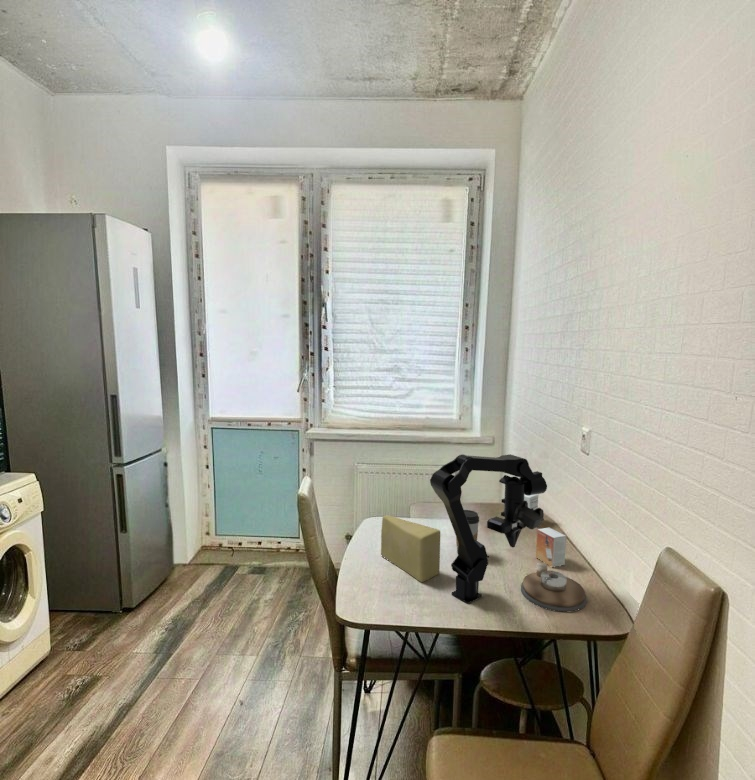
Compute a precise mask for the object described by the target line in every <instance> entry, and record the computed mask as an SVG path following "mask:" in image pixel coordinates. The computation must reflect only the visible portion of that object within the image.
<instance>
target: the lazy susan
mask: <svg viewBox="0 0 755 780" xmlns="http://www.w3.org/2000/svg"><path fill="white" fill-rule="evenodd" d="M543 571H548V565H547V564H546V563H544V562H542V561H539V562H537V563H536V571H535V572H532V573H529V574H526V575H525V576H524V577H523V580H522V582H523V589H524V591H525V592H526V593H527V594H528V595H529V596H530V597H532V598H533V599H535V600H537V601H539V602H541V603H544V604H547V605H551V606H556V607H574V606H578V605H580V604H581V603H583V601H584V599H585V595H586V590H585V589H584V587H583V586H582V585H581V584H580V583H579V582H577V581H576V580H574V579H573V578H571V577H568V576H566V578H567V580H566V590H565V591H564V592H551V591H548V590H546V589H544V588H543V587H542V586H541V573H542V572H543Z"/></svg>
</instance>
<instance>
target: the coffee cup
mask: <svg viewBox="0 0 755 780" xmlns="http://www.w3.org/2000/svg"><path fill="white" fill-rule="evenodd" d="M464 512H465V515H466V517H467V520H468V523H469V526H470V528H471V531H472V534H473V537H474V539H475V540H476V541H478V536H479V522H480V516H479V515H478V514H479V512H477V511H474V510H471V509H464ZM455 537H456V536H455ZM455 540H456V553H457V554H458V551H457V550H458V546H459V543H458V540H457V537H456V538H455Z"/></svg>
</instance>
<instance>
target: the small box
mask: <svg viewBox="0 0 755 780" xmlns="http://www.w3.org/2000/svg"><path fill="white" fill-rule="evenodd" d="M566 543H567V535H565V534H563V533H561V532H559V531H557V530H555V529H553V528H552V527H545V528H538V529H537V532H536V548H535V549H536V550H535V558H536V559H537V558H538V559H537V560H539V559H540V560H539V561H540V562H542V561H543V563H544V562H545V563H546V564H548V565H550V566H552V567H554V566H559V567H561V566H560V565H564V566H565V565H566V564H565V562H566V547H567V546H566V545H567V544H566ZM548 565H547V566H548ZM550 566H549V567H550ZM554 568H555V567H554Z"/></svg>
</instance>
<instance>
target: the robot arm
mask: <svg viewBox="0 0 755 780" xmlns="http://www.w3.org/2000/svg"><path fill="white" fill-rule="evenodd" d="M472 471H478V472H497V473H504V476H503V477H501V478H500V479H499V480H498V482H499V483H500V484H503V485H504V498H502V499H501V503H502V504H504V505H503V506H504V507H503V511H501V512H500V516H501V517H500V516H495V517H491V518H489V519H488V520H487V521H486V522H487V523H486V528H487V529H489V530H492V531H494V532H496V533H499V534H502V535H503V534H504V536H505V538H506V539H507V542H508V544H509V546H510V548H515V546H516V544H517V542H518V540H519V537H520V535H521V532H522V530H524V529H525V528H528V529H529V530H534V529H535V528H539V526H540V525H541V523H542V522H544V521H545V519H544V517H545V516H544V509H542V508H541V507H538V508H537V509H535V510H534V509H530V508H528V503H527V501H525V500H524V494H525V495H535V494H538V495H539V494H541V495H542V494H545V493H546V491H547V489H548V484H547V481H546V480H545V478H544V476H543V473H542V472H540V471H538V470H537V471H533V470H532V469H531V467H530V464H529V461H528V459H526V458H523V457H521V456H517V455H514V454H510V453H509V454H503V455H500V456H499V457H498V456H497V457H496V456H495V457H492V456H481V455H479V456H478V455H467V454H459V455H458V456H456V457H455V458H454V459H453V460H451V461H448V463H446V464H444V465H442V466H441V467H440V468H439V469H438V470H436V471H434V472H433V474H432V475H431V478H430V479H429V483H430V486H431V488H432V490H433V491H434V493H435V494H436V495H437V497H438V498H439V499H440V500H441V501H442V503H443V505H444V508H445V511H446V513H447V515H448V518H449V520H450V524H451V526H452V528H453V532H454V534H455V537H457V540H458V543H459V546H458V550H457V549H456V552H457V551H458V553H457V556H456V557H455V559H454V560H453V561H452V563H451V564H450V567H451V569H452V571H453V572H455V573H456V574H457V575H456V577H455V590H454V591H452V592H451V595H452V596H454V597H455V598H457V599H459V600H461V601H463V602H464V603H465V604H470V603H473V602H475V601H476V600H478V599H481V598H482V597H483V595H482V594H481V593H480V592H479V582H482V581H483V580H484V578H485V574H486V571H487V568H488V566H489V559H488V558H490V555H488V553H487V549H486V546H485V544H483V543H481V542H479V541H478V540H477V541H476V540H475V539H474V537H473V534H472V531H471V528H470V526H469V523H468V520H467V517H466V515H465V512H464V510H465V509H464V507H463V503H462V501H461V497H462V492H463V490H462V486H463V485H465V483H466V482H467V481H468V478H469V475H470V474H471V473H472ZM455 473H456V474H455ZM453 474H455V475H453ZM502 517H504V518H502Z"/></svg>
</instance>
